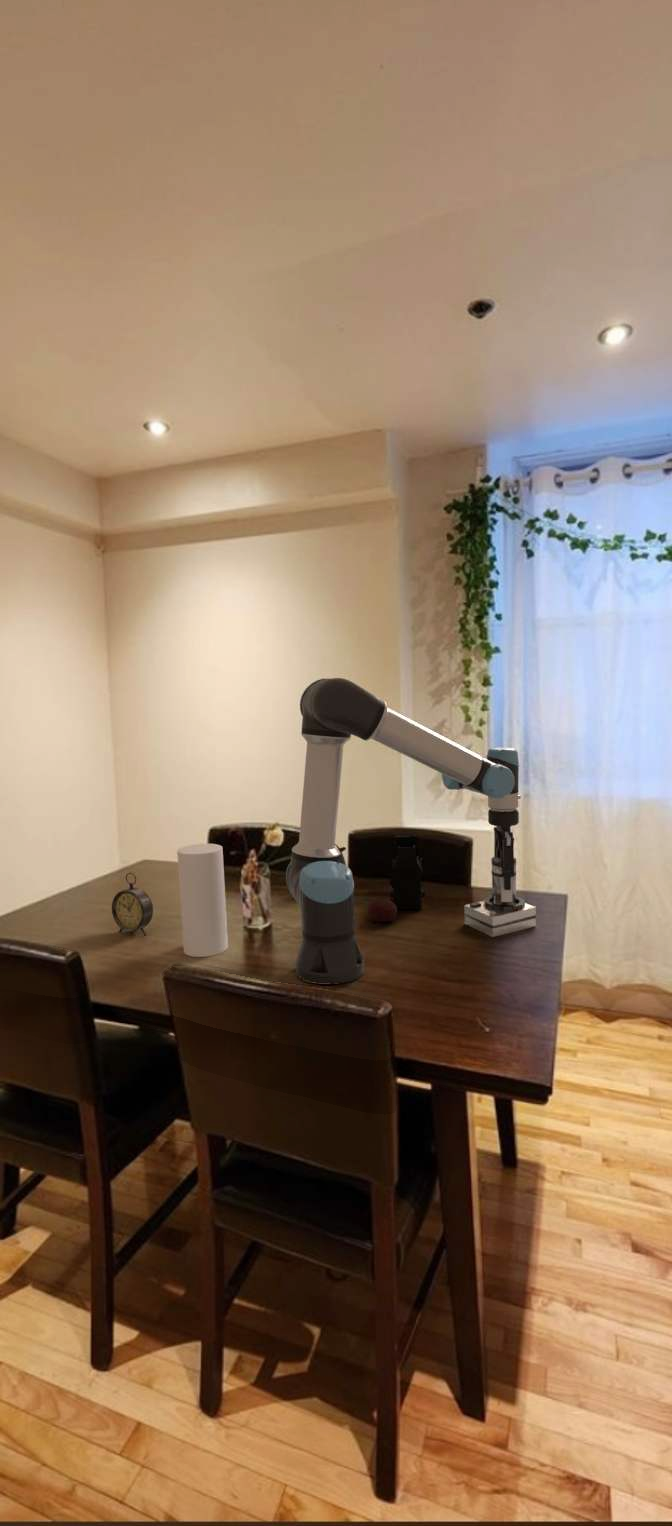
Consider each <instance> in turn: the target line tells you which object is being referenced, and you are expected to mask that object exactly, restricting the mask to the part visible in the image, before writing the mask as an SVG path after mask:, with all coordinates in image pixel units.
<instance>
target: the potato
mask: <svg viewBox="0 0 672 1526" xmlns="http://www.w3.org/2000/svg"><path fill="white" fill-rule="evenodd" d="M397 914H398V909H397V908H396V905H395V904H394V901H392V900H389V899H386V898H376V899H374V900H373V901H372V900H371V902H370V903H369V905H368V908H367V915H368V917H369V918H370V919H371V920H373V921H375V922H379V923H388V922H390V921H393V920H394V919H395V918H396V916H397Z"/></svg>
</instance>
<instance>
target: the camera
mask: <svg viewBox="0 0 672 1526" xmlns="http://www.w3.org/2000/svg"><path fill="white" fill-rule="evenodd" d="M418 838H419V837H418V835H413V834H412V835H410V834H409V835H394V855H395V856H394V858H392V857H391V858H390V859H391V860H390V861H392V862H391V865H392V866H391V869H392V872H391V873H390V878H389V885H390V886H391V889H392V891H390V899H393V903H394V904H395V905H396V908H397V910H422V899H425V897H426V895H425V891H424V890H423V886H424V883H423V882H422V876H423V866H421V865H422V864H423V862H422V861H423V858H420V856H419V849H418V848H419V840H418Z"/></svg>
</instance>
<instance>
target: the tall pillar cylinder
mask: <svg viewBox="0 0 672 1526" xmlns="http://www.w3.org/2000/svg"><path fill="white" fill-rule="evenodd" d="M223 849H224V848H223V846H222V845H220V844H216V843H194V844H189V845H185V846H182V847H179V848H178V849H177V851H176V853H177V868H178V882H179V897H180V915H181V929H182V930H181V931H182V945H183V953H184V954H185V955H187V956H189V957H193V958H194V957H196V958H206V957H207V958H208V957H213V956H217V955H219V954H221V953H223V952H225V951H226V950H227V949H228V947H229V939H228V926H227V925H228V924H227V923H228V922H227V921H228V920H227V906H226V905H227V904H226V903H227V902H226V886H225V870H224V868H225V867H224V853H223V852H224V851H223Z"/></svg>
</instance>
